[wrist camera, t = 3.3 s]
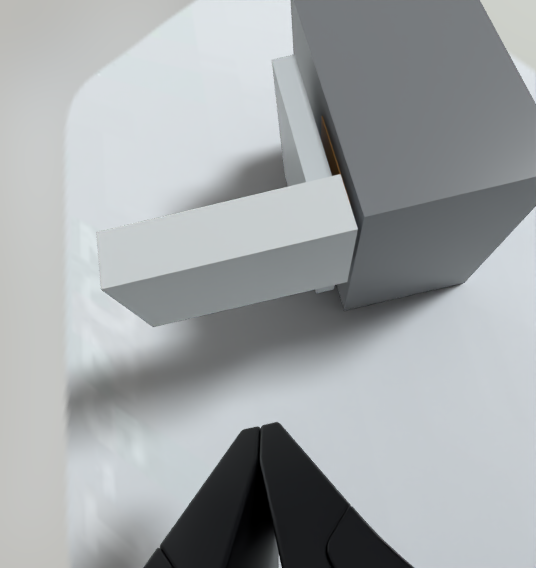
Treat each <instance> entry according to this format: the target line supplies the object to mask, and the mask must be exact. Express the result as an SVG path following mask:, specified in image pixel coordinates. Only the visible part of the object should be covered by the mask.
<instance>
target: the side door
mask: <svg viewBox="0 0 536 568" xmlns="http://www.w3.org/2000/svg"><path fill="white" fill-rule="evenodd" d="M272 68H273V76H274V85H275V94H276V103H277V112H278V121H279V130H280V138H281V147H282V156H283V165H284V174H285V178H286V182H287V185H288V187H284V188H280V189H276V190H271V191H267V192H263V193H259V194H255V195H250V196H246V197H242V198H238V199H234V200H229V201H225V202H221V203H217V204H213V205H208V206H204V207H200V208H196V209H191V210H187V211H183V212H179V213H175V214H170V215H166V216H162V217H158V218H154V219H149V220H145V221H141V222H137V223H133V224H128V225H124V226H120V227H116V228H112V229H107V230H103V231H99V232H96V235H97V247H98V259H99V272H100V284H101V290H102V291H104V292H105V293H106V294H108V295H109V296H111V297H112V298H113V299H115V300H116V301H118V302H119V303H120V304H122V305H123V306H125V307H126V308H127V309H129V310H130V311H132V312H133V313H134V314H136V315H137V316H138V317H140V318H141V319H143V320H144V321H145V322H147V323H148V324H150V325H151V326H152V327H156V326H160V325H164V324H169V323H173V322H177V321H182V320H186V319H190V318H195V317H199V316H203V315H207V314H212V313H216V312H220V311H225V310H229V309H233V308H238V307H242V306H246V305H251V304H255V303H259V302H263V301H268V300H272V299H276V298H281V297H285V296H289V295H294V294H298V293H302V292H306V291H311V290H315V291H316V293H320V292H325V291H329V290H333V289H334V285H337V284H341V283H345V282H347V281H348V276H349V271H350V266H351V261H352V256H353V251H354V246H355V241H356V236H357V231H358V228H357V225H356V222H355V218H354V215H353V212H352V209H351V206H350V203H349V199H348V196H347V193H346V190H345V187H344V184H343V181H342V177H341V174H339V175H334V176H332V174H331V171H330V167H329V164H328V161H327V158H326V155H325V151H324V148H323V145H322V142H321V138H320V135H319V132H318V129H317V125H316V122H315V119H314V116H313V112H312V109H311V106H310V103H309V100H308V96H307V93H306V90H305V87H304V83H303V80H302V77H301V74H300V70H299V67H298V64H297V61H296V57H295V54H294V55H290V56H286V57H282V58H277V59H273V60H272Z"/></svg>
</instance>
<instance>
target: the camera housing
mask: <svg viewBox="0 0 536 568" xmlns="http://www.w3.org/2000/svg"><path fill="white" fill-rule="evenodd" d="M291 15H292V33H293V51H294V54H295V57H296V61H297V64H298V67H299V70H300V74H301V77H302V80H303V83H304V87H305V90H306V93H307V96H308V100H309V103H310V106H311V109H312V112H313V116H314V119H315V122H316V125H317V129H318V132H319V135H320V138H321V142H322V145H323V148H324V151H325V155H326V158H327V161H328V164H329V167H330V171H331V174H332V176H334V175H339V174H341V177H342V181H343V184H344V187H345V190H346V193H347V196H348V199H349V203H350V206H351V209H352V212H353V215H354V218H355V222H356V225H357V228H358V231H357V236H356V241H355V246H354V251H353V256H352V261H351V266H350V271H349V276H348V281H347V282H345V283H341V284H337V288H338V291H339V295H340V298H341V302H342V305H343V309H344V310H349V309H353V308H357V307H362V306H366V305H370V304H375V303H379V302H383V301H388V300H392V299H396V298H401V297H405V296H409V295H414V294H418V293H422V292H427V291H431V290H435V289H440V288H444V287H448V286H452V285H457V284H461V283H465V281H466V280H467V279H468V278H469V277H470V276H471V275H472V274H473V273H474V272H475V271H476V270H477V269H478V267H479V266H480V265H481V264H482V263H483V262H484V261H485V260H486V259H487V258H488V257H489V256H490V255H491V254H492V252H493V251H494V250H495V249H496V248H497V247H498V246H499V245H500V244H501V243H502V242H503V241H504V240H505V238H506V237H507V236H508V235H509V234H510V233H511V232H512V231H513V230H514V229H515V228H516V227H517V226H518V225H519V223H520V222H521V221H522V220H523V219H524V218H525V217H526V216H527V215H528V214H529V213H530V212H531V211H532V209H533V208H534V207H535V206H536V104H535V102H534V100H533V98H532V96H531V94H530V92H529V91H528V89H527V87H526V85H525V83H524V81H523V79H522V78H521V76H520V74H519V72H518V70H517V68H516V66H515V65H514V63H513V61H512V59H511V57H510V55H509V54H508V52H507V50H506V48H505V46H504V44H503V43H502V41H501V39H500V37H499V35H498V33H497V32H496V30H495V28H494V26H493V24H492V22H491V20H490V19H489V17H488V15H487V13H486V11H485V9H484V7H483V5H482V4H481V2H480V0H291Z"/></svg>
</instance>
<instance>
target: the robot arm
mask: <svg viewBox="0 0 536 568" xmlns="http://www.w3.org/2000/svg"><path fill="white" fill-rule="evenodd" d="M279 556H280V561H281V565H282V568H414V567H413V566H412V565H411V564H409V563H408V562H407V561H406V560H405V559H404V558H402V557H401V556H400V555H399V554H398V553H397V552H396V551H395V550H394V549H393V548H392V547H391V546H389V545H388V544H387V543H386V542H385V541H384V540H383V539H382V538H381V537H380V536H379V535H378V534H377V533H376V532H375V531H374V530H373V529H372V528H371V527H370V526H369V524H368V523H367V522H366V521H365V520H364V519H363V518H362V517H361V516H360V515H359V513H358V512H357V511H356V510H355V509H354V508H353V507H351V505H350V504H349V503H348V501H347V500H346V499H345V498H344V497H343V496H342V495H341V493H340V492H339V491H338V490H337V489H336V488H335V486H334V485H333V484H332V483H331V482H330V481H329V480H328V478H327V477H326V476H325V475H324V474H323V473H322V471H321V470H320V469H319V468H318V467H317V466H316V465H315V463H314V462H313V461H312V460H311V459H310V458H309V456H308V455H307V454H306V453H305V452H304V451H303V449H302V448H301V447H300V446H299V445H298V444H297V443H296V441H295V440H294V439H293V438H292V437H291V436H290V434H289V433H288V432H287V431H286V430H285V429H284V428H283V426H282V425H281V424H280V423H278V422H275V423H271V424H266V425H263V426H262V427H261V428H260V427H253V428H248V429H244V430H242V431H241V432H240V434H239V435H238V436H237V438H236V439H235V441H234V442H233V443H232V445H231V446H230V448H229V449H228V450H227V452H226V453H225V455H224V456H223V458H222V459H221V460H220V462H219V463H218V465H217V466H216V467H215V469H214V470H213V472H212V473H211V474H210V476H209V477H208V479H207V480H206V481H205V483H204V484H203V486H202V487H201V488H200V490H199V491H198V493H197V494H196V496H195V497H194V498H193V500H192V501H191V503H190V504H189V505H188V507H187V508H186V510H185V511H184V512H183V514H182V515H181V517H180V518H179V519H178V521H177V522H176V524H175V525H174V527H173V528H172V529H171V531H170V532H169V534H168V535H167V536H166V538H165V539H164V541H163V542H162V543H161V545H160V548H157V549H156V551H155V552H154V554H153V555H152V556H151V558H150V559H149V561H148V562H147V563H146V565H145V566H144V567H143V568H278V557H279Z"/></svg>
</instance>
